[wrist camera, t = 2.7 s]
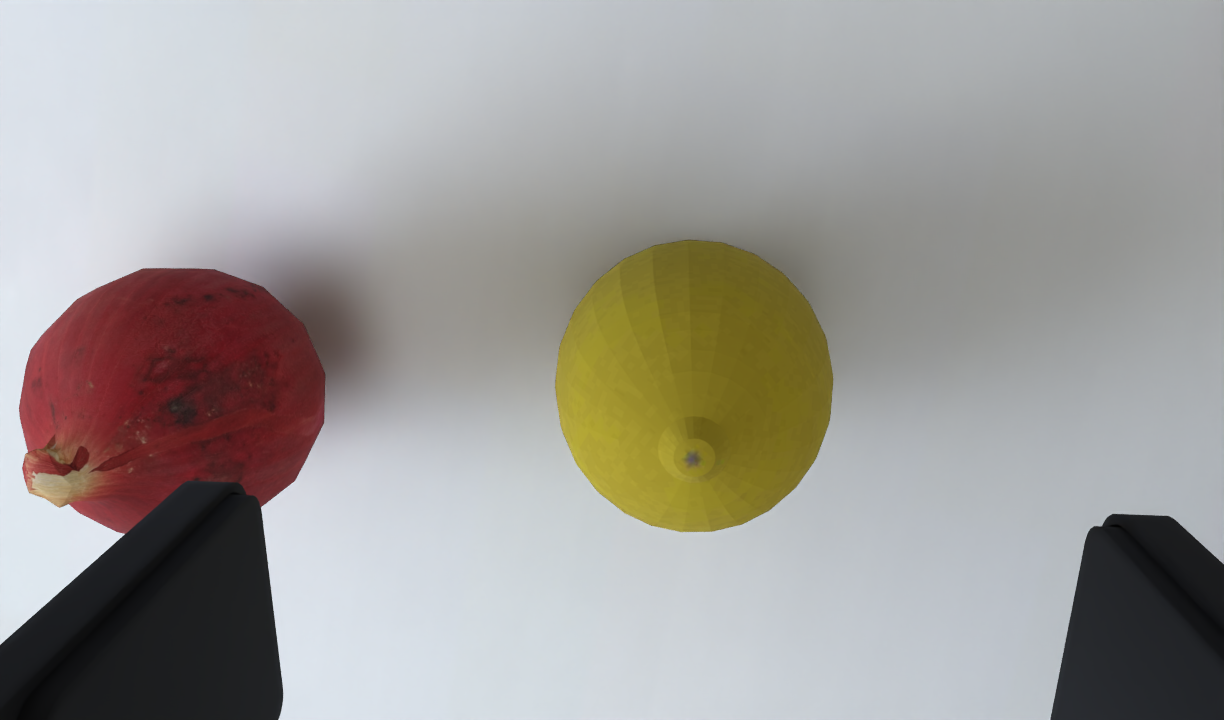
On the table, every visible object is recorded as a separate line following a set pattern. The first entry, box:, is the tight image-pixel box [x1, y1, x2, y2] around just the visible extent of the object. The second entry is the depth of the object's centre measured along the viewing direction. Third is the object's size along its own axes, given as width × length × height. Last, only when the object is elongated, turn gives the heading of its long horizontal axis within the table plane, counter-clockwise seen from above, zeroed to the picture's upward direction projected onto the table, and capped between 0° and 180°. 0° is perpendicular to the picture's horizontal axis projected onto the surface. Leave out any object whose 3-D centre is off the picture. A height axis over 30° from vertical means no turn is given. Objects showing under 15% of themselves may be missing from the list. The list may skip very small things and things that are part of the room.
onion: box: [19, 268, 325, 534], centre depth 20 cm, size 6×6×8 cm
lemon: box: [555, 240, 833, 532], centre depth 19 cm, size 6×6×8 cm
